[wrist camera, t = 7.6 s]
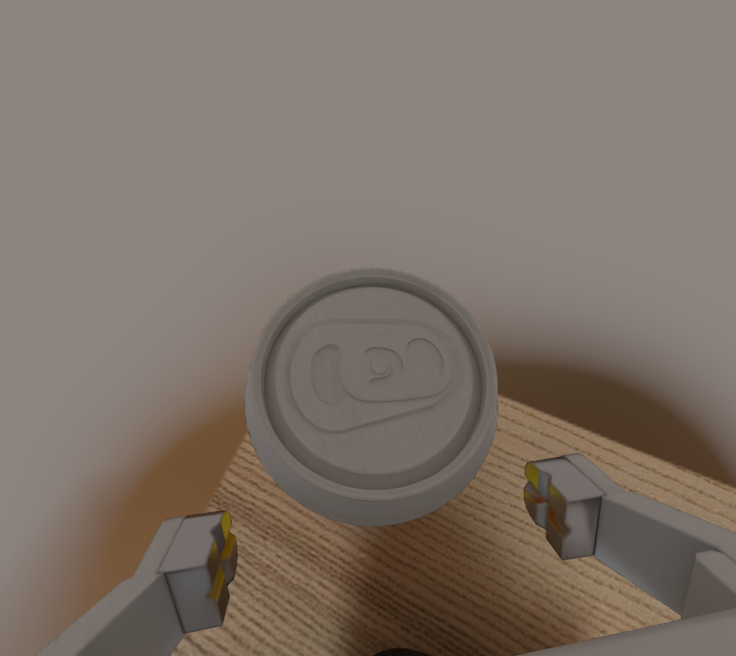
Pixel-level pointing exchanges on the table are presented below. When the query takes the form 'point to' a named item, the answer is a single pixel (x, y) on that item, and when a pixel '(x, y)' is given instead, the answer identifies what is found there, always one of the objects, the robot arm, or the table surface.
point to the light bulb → (400, 652)
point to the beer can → (372, 397)
